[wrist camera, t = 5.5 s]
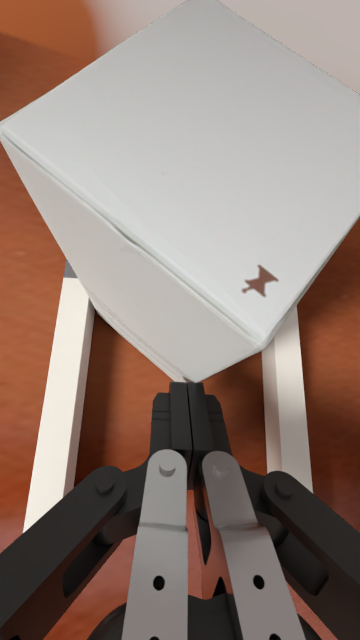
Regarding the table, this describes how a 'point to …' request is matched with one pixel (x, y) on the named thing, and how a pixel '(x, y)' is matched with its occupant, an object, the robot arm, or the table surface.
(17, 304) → the table surface
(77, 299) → the guide channel
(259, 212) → the supplement box
